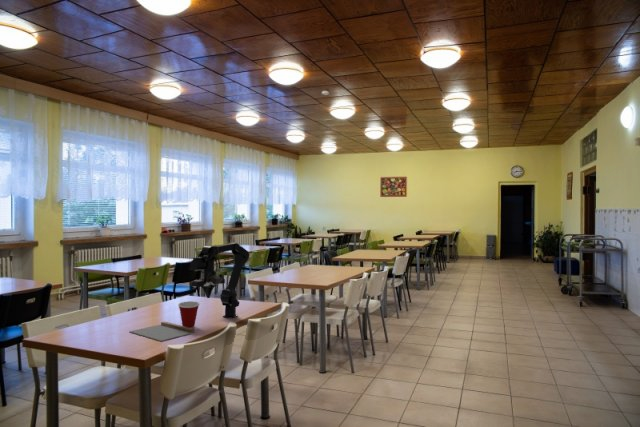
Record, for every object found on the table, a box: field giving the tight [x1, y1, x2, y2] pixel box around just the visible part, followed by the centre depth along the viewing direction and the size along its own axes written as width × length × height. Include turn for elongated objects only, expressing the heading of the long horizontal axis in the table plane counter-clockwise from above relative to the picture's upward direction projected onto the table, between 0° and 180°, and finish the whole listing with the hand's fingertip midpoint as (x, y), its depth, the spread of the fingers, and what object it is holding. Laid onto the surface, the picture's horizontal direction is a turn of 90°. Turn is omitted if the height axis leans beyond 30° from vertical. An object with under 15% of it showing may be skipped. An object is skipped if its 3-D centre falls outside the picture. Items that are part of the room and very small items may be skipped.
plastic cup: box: [177, 300, 201, 328], centre depth 228 cm, size 11×11×12 cm
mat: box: [128, 324, 193, 343], centre depth 215 cm, size 17×26×1 cm, turn 54°
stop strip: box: [160, 320, 195, 334], centre depth 223 cm, size 2×24×2 cm, turn 54°
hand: (208, 298), depth 238 cm, fingers closed
